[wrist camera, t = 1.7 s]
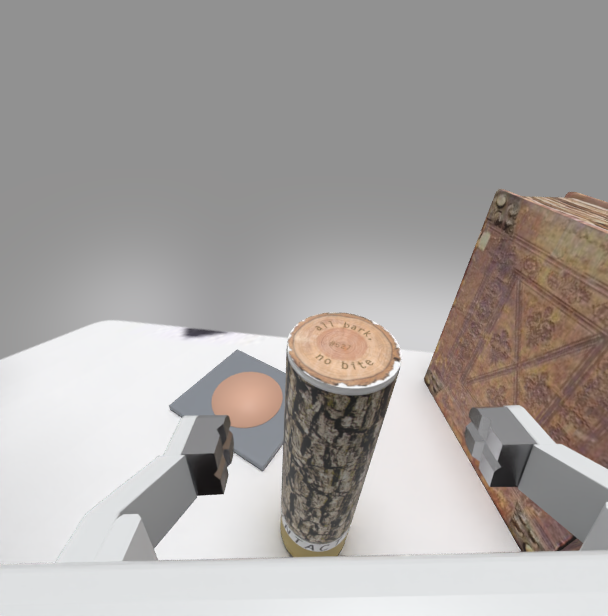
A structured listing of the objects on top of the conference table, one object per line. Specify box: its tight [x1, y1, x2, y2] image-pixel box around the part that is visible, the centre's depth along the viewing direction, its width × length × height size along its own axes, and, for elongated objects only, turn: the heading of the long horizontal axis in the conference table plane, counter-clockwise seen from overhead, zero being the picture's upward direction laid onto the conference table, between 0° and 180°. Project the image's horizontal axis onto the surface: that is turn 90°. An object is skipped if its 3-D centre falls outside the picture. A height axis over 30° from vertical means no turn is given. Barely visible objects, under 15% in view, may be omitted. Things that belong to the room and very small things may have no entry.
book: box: [424, 189, 608, 552], centre depth 33 cm, size 25×9×30 cm, turn 7°
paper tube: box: [281, 312, 402, 557], centre depth 26 cm, size 7×7×25 cm
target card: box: [169, 350, 286, 471], centre depth 45 cm, size 16×14×1 cm
